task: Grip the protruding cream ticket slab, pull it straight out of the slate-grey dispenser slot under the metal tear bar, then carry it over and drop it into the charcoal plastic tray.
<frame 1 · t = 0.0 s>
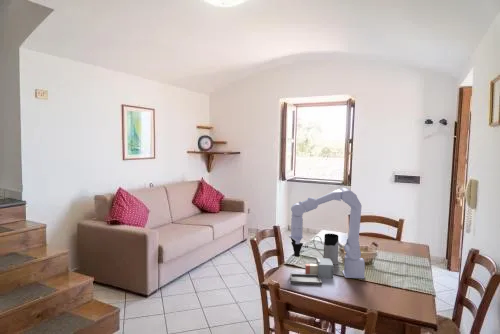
hand: (296, 253, 163), 10 cm above the table, fingers open, 7 cm apart
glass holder: (325, 261, 180), on the table
ticket: (315, 273, 163), on the table
tray: (305, 280, 154), on the table
dispenser: (324, 273, 162), on the table
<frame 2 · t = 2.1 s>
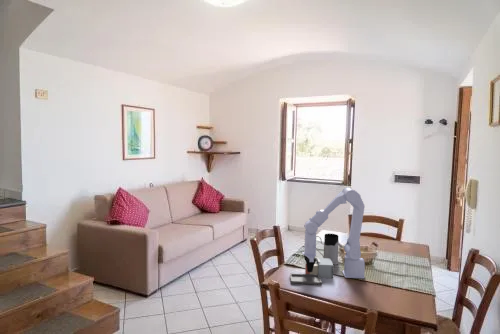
hand: (309, 270, 163), 1 cm above the table, fingers closed on ticket, 2 cm apart
ticket: (315, 273, 163), on the table, touching gripper
everything else where it was.
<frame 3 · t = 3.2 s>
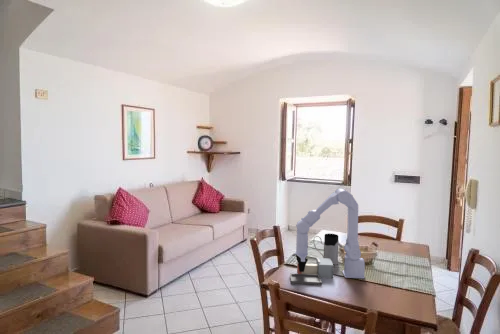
hand: (301, 270, 163), 1 cm above the table, fingers closed on ticket, 2 cm apart
ticket: (307, 273, 163), on the table, touching gripper
everything else where it was.
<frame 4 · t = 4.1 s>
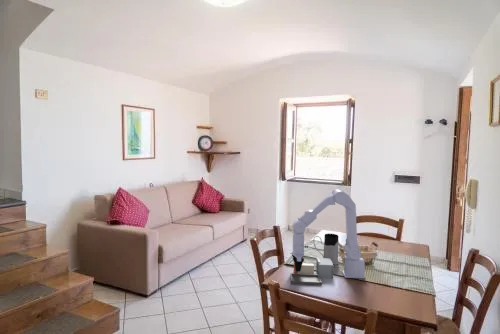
hand: (297, 270, 163), 1 cm above the table, fingers closed on ticket, 2 cm apart
ticket: (303, 272, 163), on the table, touching gripper
everything else where it was.
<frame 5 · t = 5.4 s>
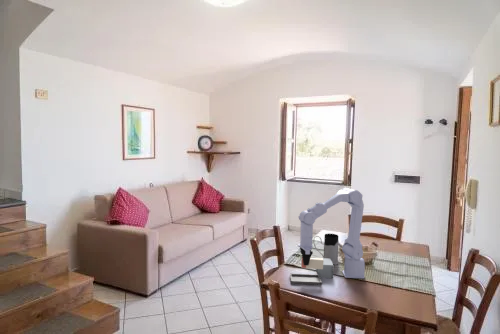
hand: (305, 263, 153), 8 cm above the table, fingers closed on ticket, 2 cm apart
ticket: (311, 267, 153), point 7 cm above the table, touching gripper
everything else where it was.
when the fingers open (3 cm above the table, at t = 6.6 s): ticket stays where it is, resting on tray.
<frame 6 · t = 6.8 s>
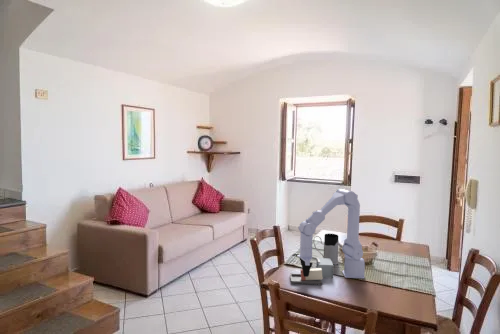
hand: (305, 274, 154), 3 cm above the table, fingers open, 4 cm apart
ticket: (311, 278, 154), point 1 cm above the table, tilted 6°, touching tray
everything else where it was.
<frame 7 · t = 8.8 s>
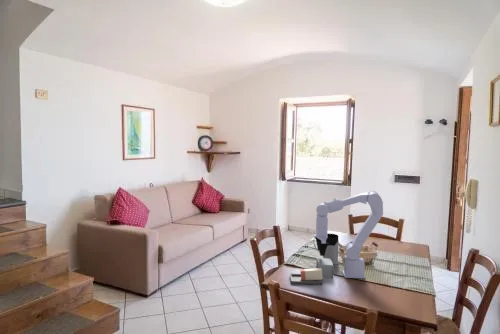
hand: (321, 252, 164), 10 cm above the table, fingers open, 7 cm apart
nothing on the table moved.
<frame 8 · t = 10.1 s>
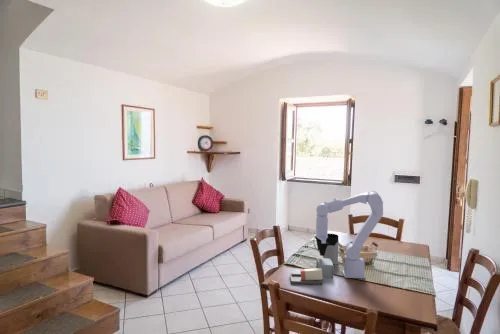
hand: (321, 252, 165), 10 cm above the table, fingers open, 7 cm apart
nothing on the table moved.
at the end: ticket inside the target area on the tray (3.0 cm from its centre), point 1.1 cm above the tray's base; ticket touching tray; the gripper is holding nothing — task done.
